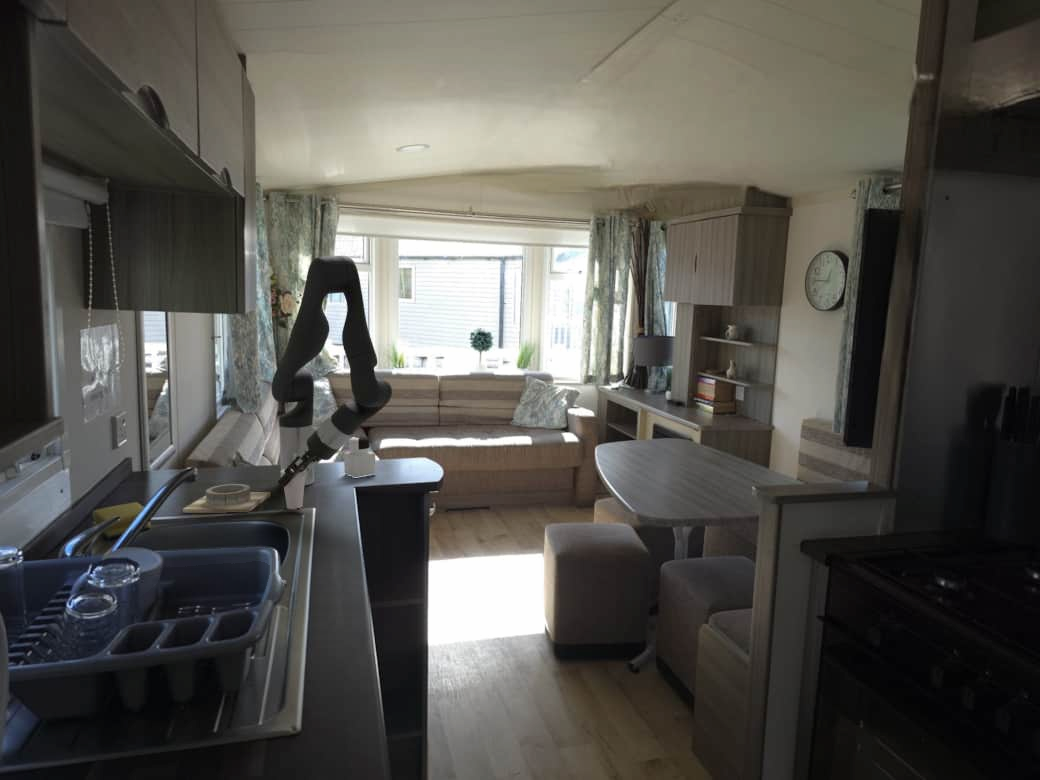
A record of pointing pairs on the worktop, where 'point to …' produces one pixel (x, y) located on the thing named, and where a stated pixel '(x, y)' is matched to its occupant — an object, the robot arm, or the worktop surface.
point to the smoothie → (295, 490)
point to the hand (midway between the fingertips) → (287, 481)
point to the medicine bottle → (359, 457)
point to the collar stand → (227, 500)
